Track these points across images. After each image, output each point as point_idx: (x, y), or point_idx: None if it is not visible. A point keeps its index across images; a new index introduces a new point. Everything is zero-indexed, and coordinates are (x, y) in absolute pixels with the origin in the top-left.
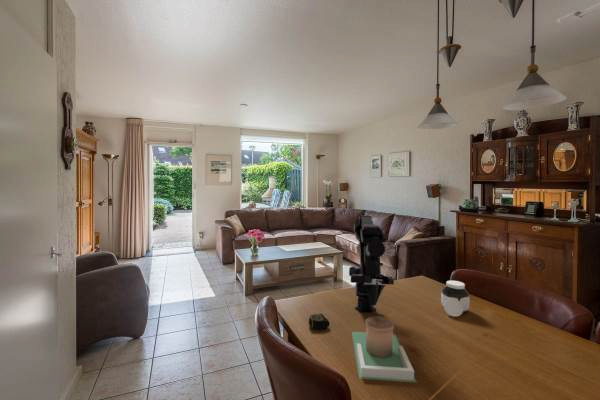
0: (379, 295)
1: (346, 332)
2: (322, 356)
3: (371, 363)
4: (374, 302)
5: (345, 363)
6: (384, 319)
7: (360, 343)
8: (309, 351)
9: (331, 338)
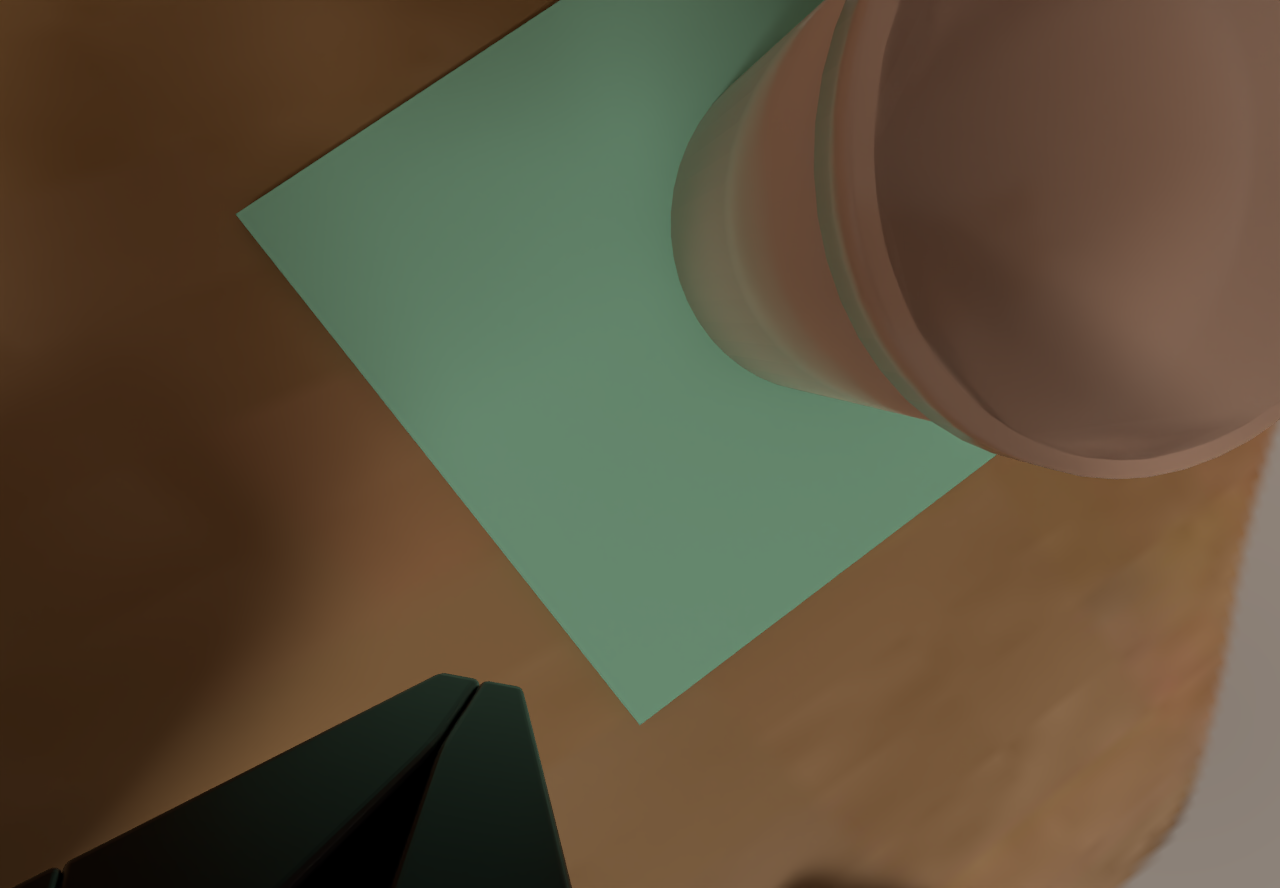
0: (88, 884)
1: (670, 763)
2: (1205, 640)
3: None
4: (533, 742)
5: None
6: (959, 98)
7: (827, 484)
8: (1198, 773)
9: (896, 791)
